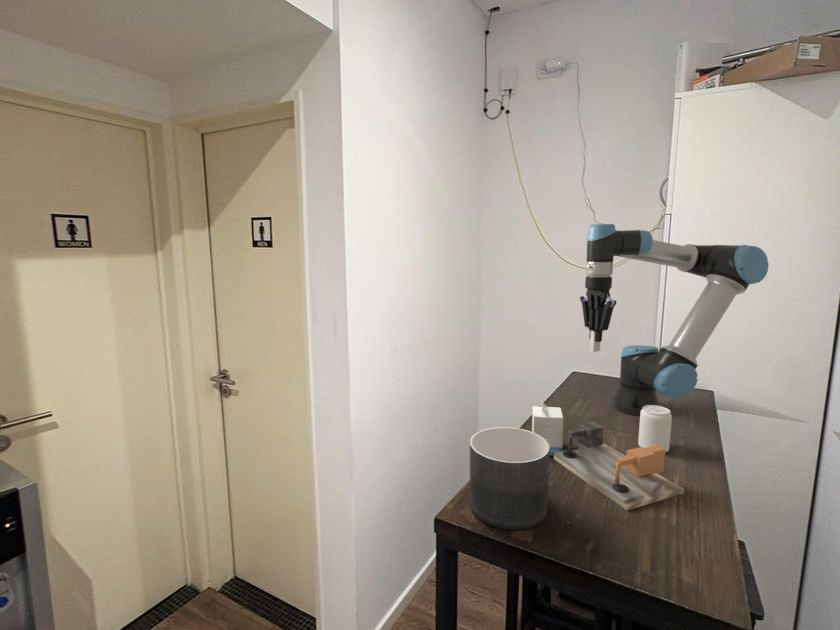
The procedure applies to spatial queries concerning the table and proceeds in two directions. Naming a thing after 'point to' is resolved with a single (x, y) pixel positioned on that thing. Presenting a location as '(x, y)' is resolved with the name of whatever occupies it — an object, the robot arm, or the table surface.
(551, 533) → the table surface
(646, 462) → the block
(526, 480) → the planter
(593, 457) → the board
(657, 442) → the beverage can
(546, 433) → the ink box
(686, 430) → the table surface
